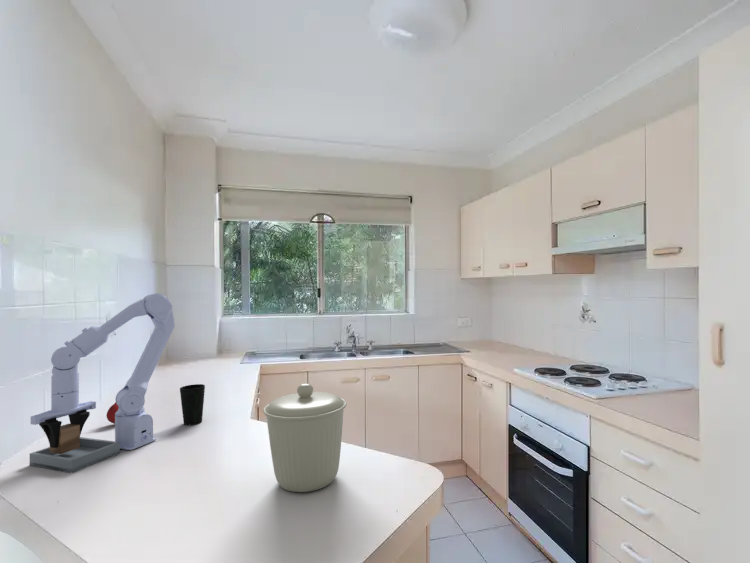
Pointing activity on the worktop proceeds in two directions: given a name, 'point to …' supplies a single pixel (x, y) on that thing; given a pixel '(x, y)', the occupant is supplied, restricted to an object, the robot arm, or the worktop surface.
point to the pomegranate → (112, 413)
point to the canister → (305, 438)
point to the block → (67, 439)
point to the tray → (76, 455)
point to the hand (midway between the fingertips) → (65, 443)
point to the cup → (192, 403)
